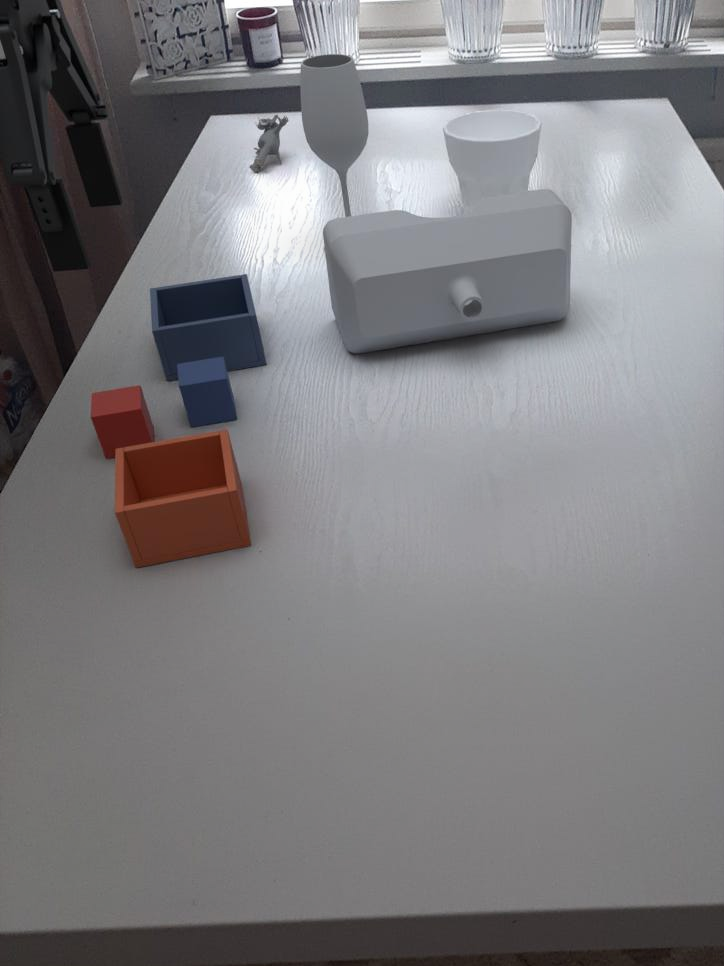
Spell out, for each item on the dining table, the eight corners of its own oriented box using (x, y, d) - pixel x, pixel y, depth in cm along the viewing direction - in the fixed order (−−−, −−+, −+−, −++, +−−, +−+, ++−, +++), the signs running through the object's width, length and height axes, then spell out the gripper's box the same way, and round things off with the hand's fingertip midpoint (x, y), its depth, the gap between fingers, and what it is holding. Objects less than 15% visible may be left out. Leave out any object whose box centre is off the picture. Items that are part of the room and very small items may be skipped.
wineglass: (384, 234, 126) (364, 50, 111) (379, 258, 120) (356, 68, 106) (327, 236, 126) (299, 53, 112) (318, 261, 121) (288, 71, 106)
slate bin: (166, 381, 100) (151, 330, 97) (163, 337, 108) (149, 288, 104) (266, 364, 102) (256, 314, 98) (257, 322, 109) (246, 273, 106)
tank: (356, 387, 98) (338, 265, 89) (333, 318, 109) (315, 204, 101) (590, 347, 102) (594, 227, 93) (544, 285, 113) (545, 172, 104)
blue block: (190, 427, 94) (178, 386, 91) (188, 404, 97) (176, 363, 94) (237, 419, 94) (226, 377, 91) (233, 397, 98) (223, 356, 94)
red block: (105, 459, 90) (90, 417, 87) (106, 434, 94) (91, 392, 90) (154, 450, 91) (141, 408, 88) (153, 426, 94) (140, 384, 91)
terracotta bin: (135, 568, 79) (114, 512, 75) (134, 502, 85) (115, 448, 81) (251, 545, 80) (236, 489, 76) (241, 483, 87) (227, 428, 83)
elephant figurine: (225, 171, 146) (246, 131, 150) (259, 197, 149) (279, 157, 153) (254, 134, 139) (275, 92, 142) (289, 162, 142) (309, 120, 145)
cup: (493, 190, 136) (490, 103, 128) (560, 210, 129) (562, 120, 121) (429, 217, 129) (422, 127, 122) (496, 240, 123) (493, 147, 115)
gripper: (-8, -49, 57) (105, 296, 72) (84, -107, 75) (159, 179, 90) (-135, -40, 57) (4, 304, 72) (-13, -100, 75) (78, 185, 90)
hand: (90, 235), depth 81 cm, fingers open, 13 cm apart
